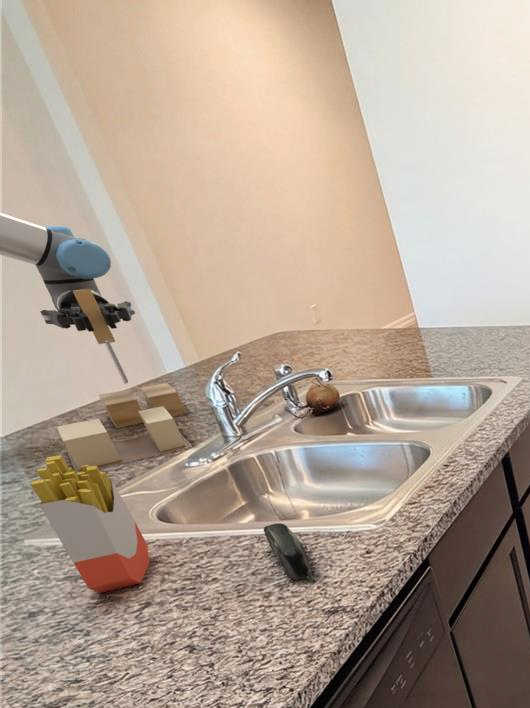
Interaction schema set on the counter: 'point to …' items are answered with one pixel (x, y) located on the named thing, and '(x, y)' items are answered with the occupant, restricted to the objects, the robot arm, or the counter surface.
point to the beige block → (88, 443)
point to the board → (135, 450)
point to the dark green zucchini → (289, 551)
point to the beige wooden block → (162, 428)
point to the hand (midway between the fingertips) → (99, 322)
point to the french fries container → (92, 525)
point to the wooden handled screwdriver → (98, 325)
